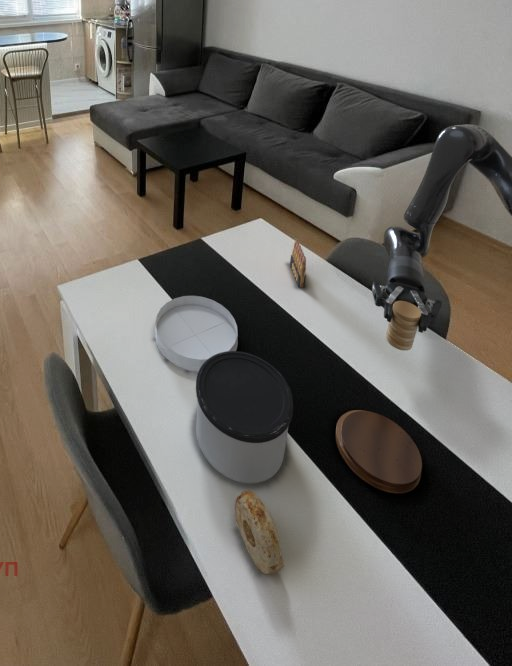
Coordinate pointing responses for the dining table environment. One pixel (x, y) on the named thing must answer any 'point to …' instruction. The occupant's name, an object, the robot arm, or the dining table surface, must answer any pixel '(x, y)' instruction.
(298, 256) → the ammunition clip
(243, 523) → the bagel
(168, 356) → the dish
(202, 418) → the container
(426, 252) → the robot arm
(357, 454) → the brown round base
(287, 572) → the dining table surface
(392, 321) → the chip roll
